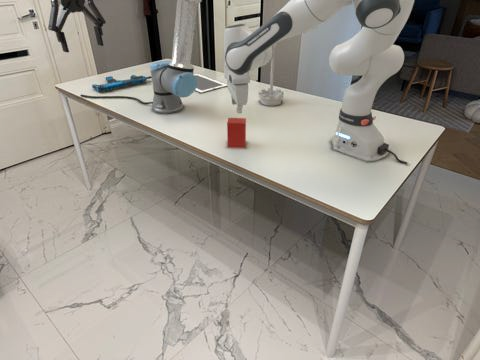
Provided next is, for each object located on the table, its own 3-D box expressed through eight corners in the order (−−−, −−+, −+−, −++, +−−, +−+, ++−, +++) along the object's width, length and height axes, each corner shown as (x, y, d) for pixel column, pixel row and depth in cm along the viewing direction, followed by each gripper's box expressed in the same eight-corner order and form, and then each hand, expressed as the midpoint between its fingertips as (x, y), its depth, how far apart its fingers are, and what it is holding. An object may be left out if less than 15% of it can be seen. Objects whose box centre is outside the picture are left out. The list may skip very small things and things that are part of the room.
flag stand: (276, 96, 187) (279, 38, 170) (287, 104, 177) (292, 43, 160) (254, 99, 183) (255, 40, 167) (264, 107, 173) (267, 45, 156)
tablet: (171, 80, 212) (171, 79, 212) (198, 74, 223) (197, 73, 223) (200, 93, 192) (200, 92, 192) (228, 85, 203) (228, 85, 203)
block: (228, 141, 141) (228, 117, 135) (245, 142, 141) (245, 118, 135) (227, 147, 137) (227, 123, 131) (245, 147, 136) (245, 123, 131)
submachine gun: (137, 69, 223) (155, 75, 206) (138, 75, 224) (156, 82, 208) (84, 79, 204) (100, 87, 187) (86, 86, 206) (101, 94, 189)
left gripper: (95, -21, 122) (108, 41, 134) (23, -18, 106) (44, 53, 117) (107, -21, 118) (119, 44, 130) (34, -17, 102) (55, 56, 114)
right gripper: (222, 65, 132) (224, 99, 139) (233, 81, 115) (233, 119, 123) (238, 64, 133) (239, 98, 140) (251, 79, 116) (250, 117, 124)
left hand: (84, 48), depth 124 cm, fingers open, 13 cm apart
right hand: (236, 108), depth 131 cm, fingers open, 8 cm apart
